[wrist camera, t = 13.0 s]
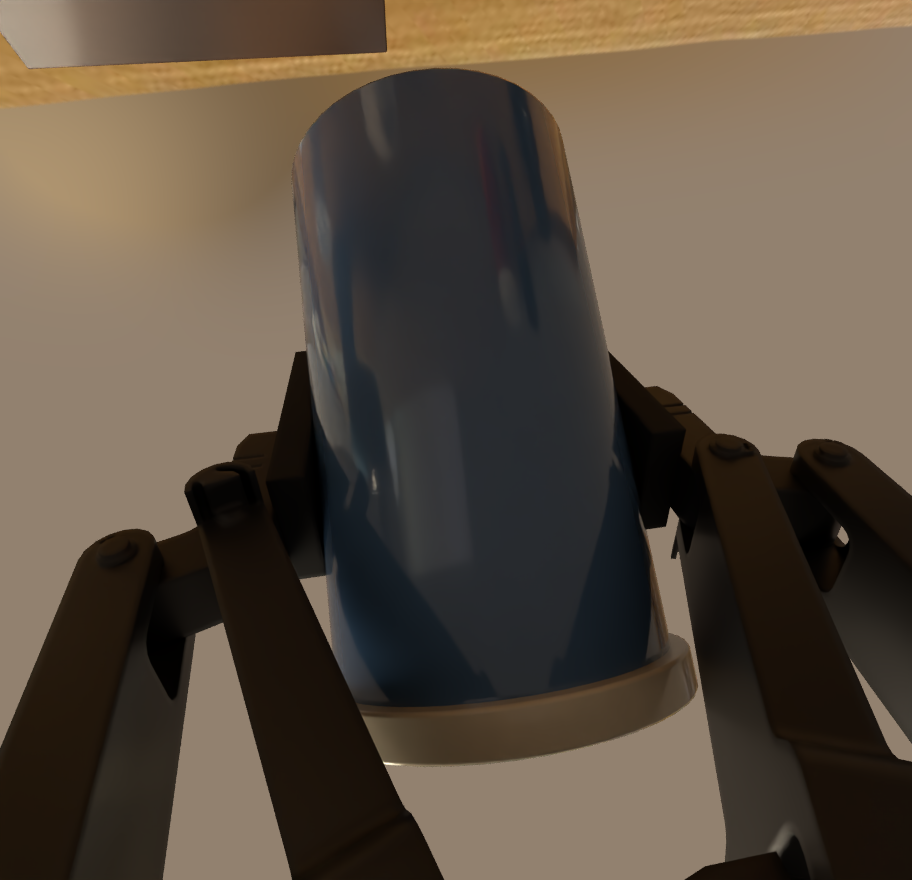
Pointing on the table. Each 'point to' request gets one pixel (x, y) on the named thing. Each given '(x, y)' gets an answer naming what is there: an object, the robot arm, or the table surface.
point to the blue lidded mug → (471, 433)
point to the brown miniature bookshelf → (187, 30)
